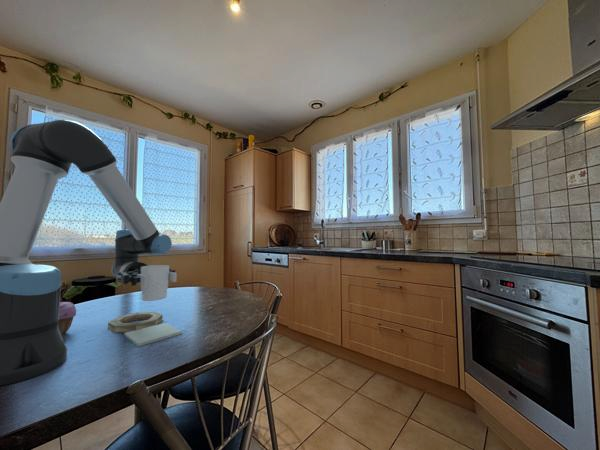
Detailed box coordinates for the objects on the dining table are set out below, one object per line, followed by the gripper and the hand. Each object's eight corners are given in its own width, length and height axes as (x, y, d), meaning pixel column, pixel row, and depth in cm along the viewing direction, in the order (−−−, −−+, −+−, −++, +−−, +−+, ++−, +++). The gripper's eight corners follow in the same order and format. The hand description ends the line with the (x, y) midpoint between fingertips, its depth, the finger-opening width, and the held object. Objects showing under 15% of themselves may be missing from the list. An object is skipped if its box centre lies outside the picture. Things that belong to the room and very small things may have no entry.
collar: (150, 330, 81) (150, 324, 81) (99, 333, 78) (100, 326, 78) (166, 316, 95) (166, 311, 95) (124, 318, 92) (124, 313, 92)
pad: (181, 333, 78) (181, 331, 78) (137, 346, 68) (138, 343, 68) (165, 325, 85) (165, 322, 85) (124, 335, 76) (124, 333, 76)
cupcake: (28, 338, 74) (30, 304, 74) (62, 328, 82) (63, 297, 83) (49, 341, 72) (51, 306, 72) (82, 330, 80) (84, 299, 81)
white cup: (159, 301, 74) (160, 268, 74) (133, 301, 74) (134, 267, 74) (173, 295, 81) (174, 265, 82) (149, 295, 82) (150, 264, 82)
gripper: (164, 279, 97) (193, 286, 82) (99, 287, 81) (120, 298, 67) (165, 259, 97) (194, 263, 83) (99, 264, 82) (121, 270, 67)
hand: (161, 279), depth 75 cm, fingers closed on white cup, 8 cm apart
